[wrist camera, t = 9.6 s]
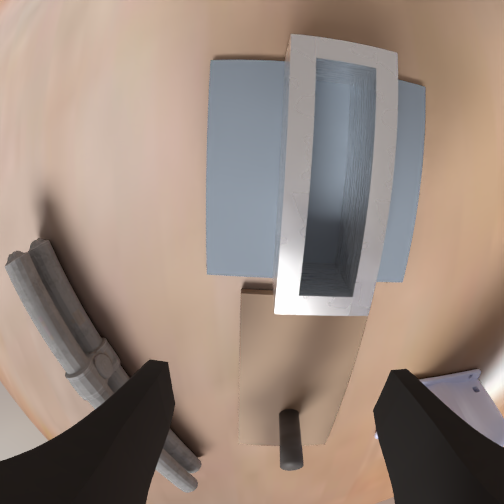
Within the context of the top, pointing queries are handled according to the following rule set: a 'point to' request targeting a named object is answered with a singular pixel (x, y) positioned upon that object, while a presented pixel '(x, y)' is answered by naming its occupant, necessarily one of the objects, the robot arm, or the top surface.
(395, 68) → the steel link
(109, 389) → the metal rod assembly
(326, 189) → the rubber mat
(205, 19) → the top surface
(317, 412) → the post stand
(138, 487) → the robot arm
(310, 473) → the top surface
